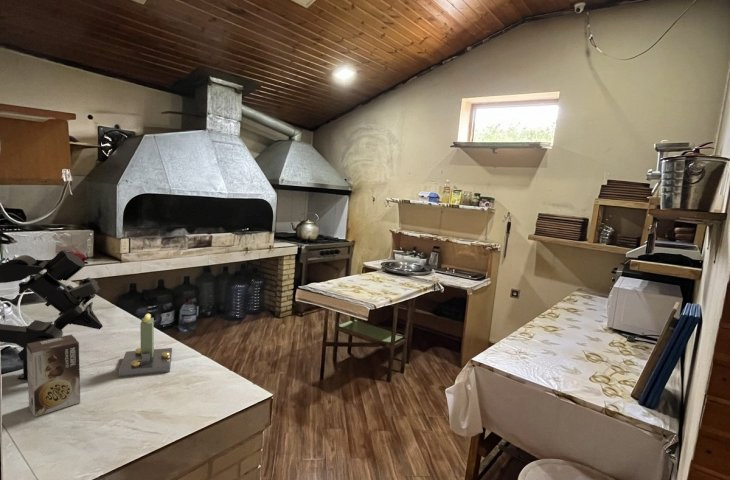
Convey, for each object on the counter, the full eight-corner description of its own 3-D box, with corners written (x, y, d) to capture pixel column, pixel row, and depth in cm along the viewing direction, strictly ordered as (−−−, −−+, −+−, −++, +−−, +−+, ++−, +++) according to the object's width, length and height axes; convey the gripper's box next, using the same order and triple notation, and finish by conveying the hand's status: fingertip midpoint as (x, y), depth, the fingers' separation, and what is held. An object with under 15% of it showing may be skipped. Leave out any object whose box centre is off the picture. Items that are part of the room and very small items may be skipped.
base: (118, 377, 110) (118, 359, 109) (126, 357, 121) (126, 341, 121) (169, 372, 115) (170, 355, 114) (172, 353, 127) (172, 338, 126)
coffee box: (73, 393, 100) (72, 333, 98) (81, 403, 96) (80, 341, 94) (27, 406, 93) (25, 342, 91) (33, 417, 89) (32, 351, 87)
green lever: (140, 361, 115) (140, 319, 113) (142, 354, 120) (142, 313, 118) (152, 360, 116) (151, 318, 114) (153, 352, 121) (153, 312, 119)
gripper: (68, 279, 99) (118, 318, 105) (86, 264, 116) (129, 298, 122) (30, 310, 97) (83, 348, 103) (54, 290, 114) (99, 324, 120)
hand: (101, 327), depth 112 cm, fingers closed
